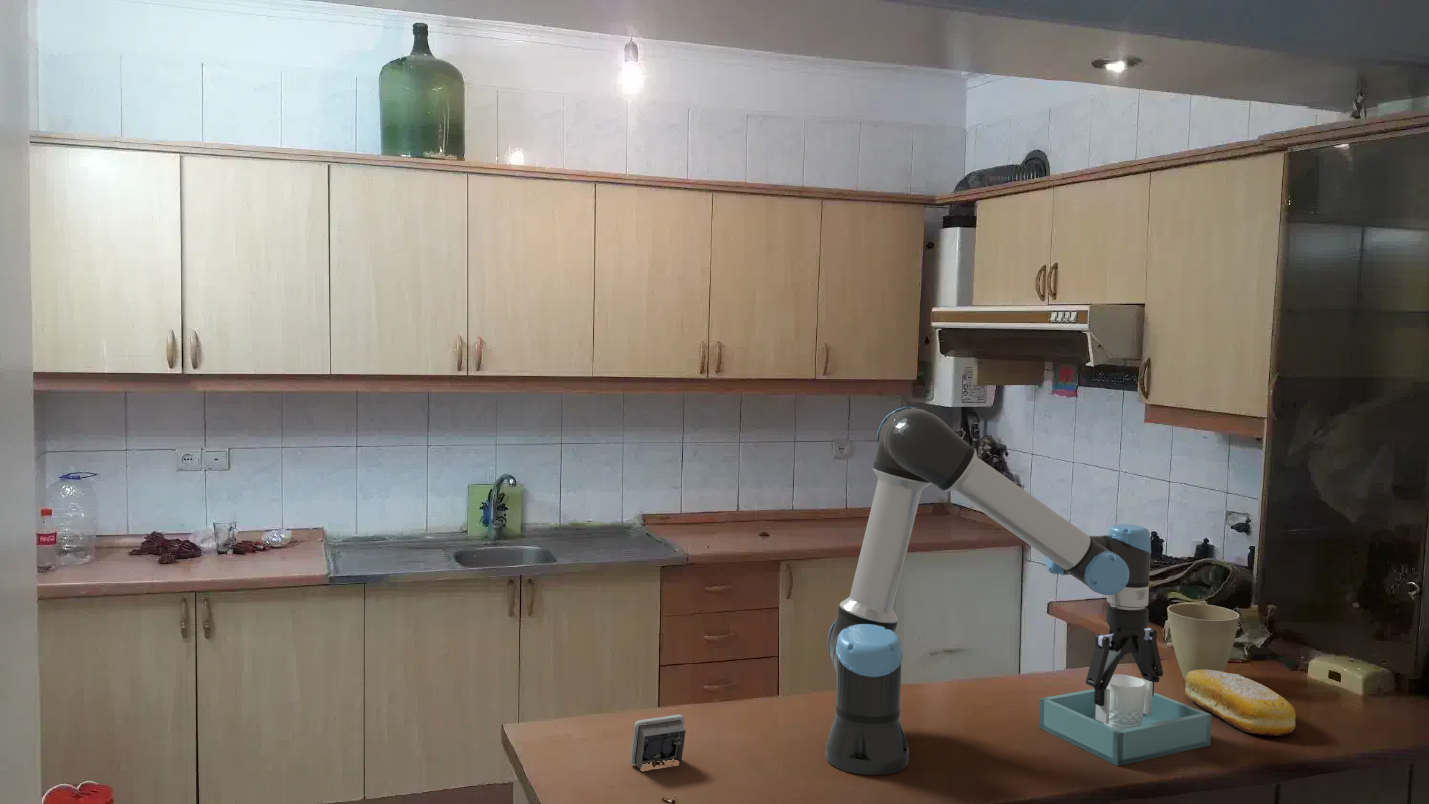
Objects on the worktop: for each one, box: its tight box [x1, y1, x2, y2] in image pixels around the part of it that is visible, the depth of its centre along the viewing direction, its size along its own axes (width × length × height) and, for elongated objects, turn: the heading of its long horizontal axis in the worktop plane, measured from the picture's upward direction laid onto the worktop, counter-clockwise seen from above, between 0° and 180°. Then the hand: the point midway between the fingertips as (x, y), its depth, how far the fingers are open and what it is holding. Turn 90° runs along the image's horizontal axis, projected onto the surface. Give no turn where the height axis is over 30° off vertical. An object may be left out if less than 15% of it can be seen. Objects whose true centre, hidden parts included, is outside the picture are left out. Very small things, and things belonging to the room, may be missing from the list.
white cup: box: [1104, 674, 1146, 730], centre depth 200 cm, size 8×8×10 cm
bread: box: [1184, 669, 1297, 737], centre depth 211 cm, size 13×26×8 cm, turn 9°
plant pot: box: [1166, 602, 1240, 680], centre depth 234 cm, size 15×15×16 cm
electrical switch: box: [629, 714, 686, 769], centre depth 183 cm, size 9×5×9 cm, turn 113°
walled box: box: [1038, 688, 1212, 767], centre depth 200 cm, size 24×20×6 cm
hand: (1123, 717), depth 200 cm, fingers open, 10 cm apart
